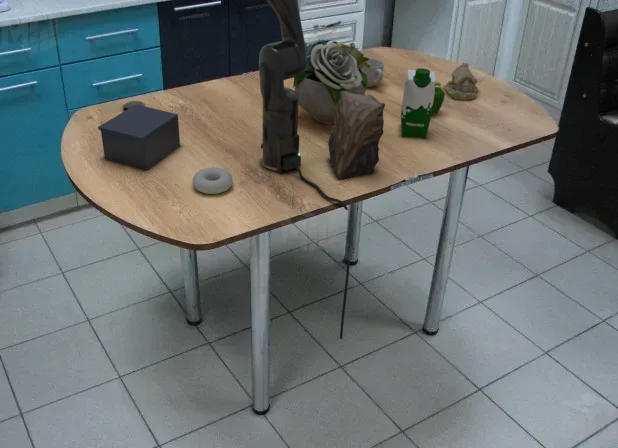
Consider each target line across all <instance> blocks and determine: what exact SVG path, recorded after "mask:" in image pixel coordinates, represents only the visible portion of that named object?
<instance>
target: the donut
mask: <svg viewBox="0 0 618 448" xmlns="http://www.w3.org/2000/svg"><path fill="white" fill-rule="evenodd" d="M193 175H194V176H193V177H192V185H193V187H194V189H196V190H197V191H198V192H201V193H203V194H206V195H217V194H223V193H224V192H226V191H228V190H229V189H230V188H231V186H232V184H233V176H232V174H231V172H229V171H227V170H226V169H224V168H221V167H206V168H202V169H199V170H198V171H197V172H196V173H195V174H193Z"/></svg>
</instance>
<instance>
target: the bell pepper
mask: <svg viewBox="0 0 618 448" xmlns="http://www.w3.org/2000/svg"><path fill="white" fill-rule="evenodd" d="M441 85H442V83H441V82H436V87H435V94H434V101H433V107H432V113H431V116H434V115H437V114H438V113H439V112H440V110H441V108H442V106H443V103H444V100H445V95H446V94H445V91H444V90H443V89H442V87H441Z"/></svg>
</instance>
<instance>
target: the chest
mask: <svg viewBox="0 0 618 448" xmlns="http://www.w3.org/2000/svg"><path fill="white" fill-rule="evenodd" d="M100 136H101V141H102V150H103V157H104V159H105V160H108V161H113V162H116V163H120V164H124V165H127V166H131V167H135V168H138V169H142V170H145V171H148V170H149V169H151V168H152V167H154V166H155V165H156V164H159V162H161V161H162V160H163V159H165V158H166V157H167V156H169V155H170V154H171V153H173V152H175V150H177V149H178V148H179V147H181V139H180V125H179V116H178V117H177V118H176V119H174V120H173V121H171V122H170V123H168V124H167V125H165V126H164V127H162V128H161V129H159V130H158V131H156V132H155V133H153V134H152V135H150V136H149V137H147V138H146V139H144V140H143V141H141V140H137V139H133V138H129V137H125V136H121V135H118V134H114V133H110V132H106V131H102V130H100Z"/></svg>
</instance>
